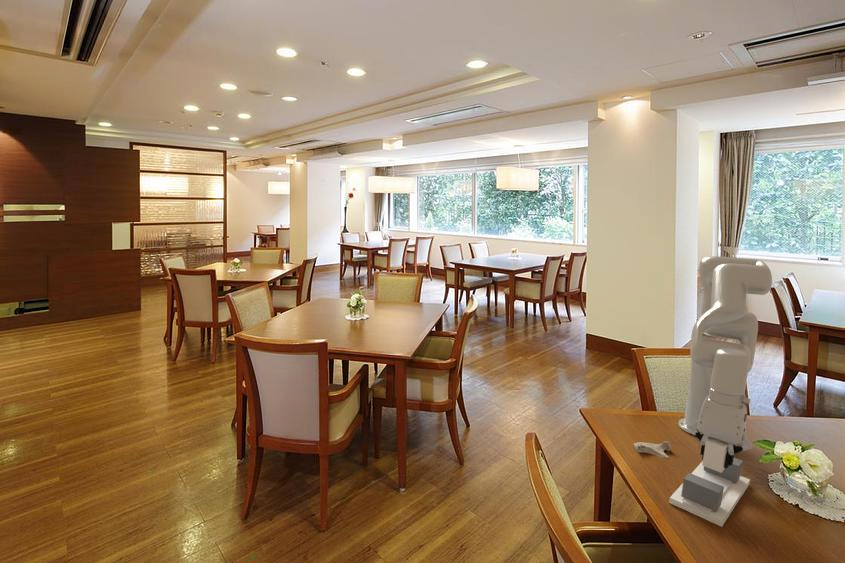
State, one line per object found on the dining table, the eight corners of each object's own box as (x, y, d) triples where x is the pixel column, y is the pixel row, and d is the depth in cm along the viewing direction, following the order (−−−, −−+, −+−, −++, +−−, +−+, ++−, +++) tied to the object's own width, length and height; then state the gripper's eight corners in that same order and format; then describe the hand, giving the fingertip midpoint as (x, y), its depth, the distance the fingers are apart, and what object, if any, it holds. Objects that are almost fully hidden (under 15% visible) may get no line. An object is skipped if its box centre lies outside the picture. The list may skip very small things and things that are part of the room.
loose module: (709, 457, 130) (712, 433, 128) (728, 464, 126) (732, 440, 125) (702, 465, 125) (705, 440, 124) (721, 472, 122) (725, 447, 121)
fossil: (674, 461, 144) (676, 450, 143) (636, 454, 147) (637, 444, 146) (669, 449, 150) (671, 439, 150) (632, 443, 153) (634, 433, 153)
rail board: (701, 466, 141) (704, 444, 140) (749, 484, 132) (753, 461, 131) (669, 502, 123) (672, 478, 122) (721, 526, 115) (726, 500, 113)
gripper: (768, 403, 119) (757, 471, 122) (694, 383, 131) (685, 445, 134) (761, 412, 114) (749, 482, 117) (685, 390, 126) (676, 454, 129)
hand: (715, 461), depth 126 cm, fingers closed on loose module, 4 cm apart
